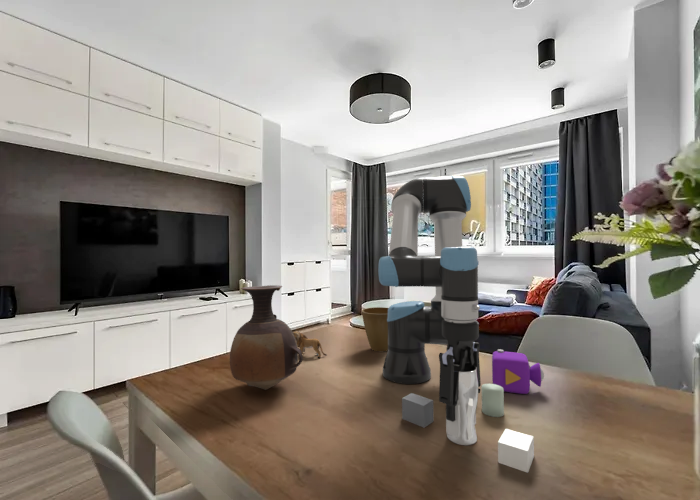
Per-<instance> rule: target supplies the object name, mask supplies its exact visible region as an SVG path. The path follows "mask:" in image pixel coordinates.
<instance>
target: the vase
mask: <svg viewBox="0 0 700 500" xmlns="http://www.w3.org/2000/svg"><path fill="white" fill-rule="evenodd" d="M282 287H283V286H282V285H278V284H275V285H273V284H272V285H271V284H269V285H255V286H253V285H252V286H245V287H244V286H243V287H241V288H240V289H241V290H243V291H244V292H247V293H249V295H250V296H251V299H252V305H253V310H252V314H251V318H250V320H248V321H246V322H245V323H244V324H242V326H241V327H239V328H238V330H237V331H236V333H235V335H234V337H233V340H232V341H231V342H232V343H231V347H230V351H229V366H230V371H231V375H232V377H233V378H234V379H235V380H237V381H239V382H242V383H245V384H247V386H248V387H256V388H259V389H262V390H264V391H267V390H269V389H270V388H272V387H274V386H275V385H276V384H278V383H280V382H282V381H283V380H285V379H287V378H289V377H290V376H292V375H293V374H294V373H295V372H296V371H297V368H298V367H300V365H301V364H302V362H303V359H304V355H302V351H301V350H300V347H297V342H296V339H295V336H294V334H293V331H292V329H291V328H290V326H289V325H288V324H287V323H286V322H284V320H282V319H278V316H277V315H276V314H274V312H273V307H272V302H273V296H274V293H275V292H276V291H280V290H281V289H282Z"/></svg>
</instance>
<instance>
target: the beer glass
mask: <svg viewBox="0 0 700 500" xmlns="http://www.w3.org/2000/svg"><path fill="white" fill-rule="evenodd" d="M454 365H455V364H454ZM455 366H459V365H455ZM456 372H458V371H454V373H456ZM478 388H479V387H478V376H477V367H476V366H474V365H472V371H468V372H461V371H459V394H458V402H457V404H460V437H459V438H457V437H455V436H452V435H450V434H447V433H446V437H447V439H448V440H449V441H451V442H452V443H454V444H455V445H456V444H457V445H460V446H472V445H474V444H476V442H477V440H478V436H477V431H476V426H475V425H476V424H475V413H476V414H477V407H478V400H479V393H478Z"/></svg>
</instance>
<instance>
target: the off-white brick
mask: <svg viewBox="0 0 700 500" xmlns="http://www.w3.org/2000/svg"><path fill="white" fill-rule="evenodd" d="M534 437H535V436H533V435H530V434H526V433H523V432H519V431H515V430H512V429H509V428H505V429H504V431H503V433H502V434H501V436H500V438H499V440H498V441H497V462H498V464H501V465H505V466H507V467H510V468H513V469H516V470H519V471H521V472H525V473H527V474H529V471H530V468H531V466H532V463H533V460H534V457H535V449H534V448H535V442H534V441H535V440H534V439H535V438H534Z"/></svg>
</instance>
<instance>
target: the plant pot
mask: <svg viewBox="0 0 700 500" xmlns="http://www.w3.org/2000/svg"><path fill="white" fill-rule="evenodd" d="M388 308H389V307H382V306H381V307H380V306H377V307H375V306H374V307H367V308H363V309H362V310H361V316H362V321H363V326H364V330H365V334H366V338H367V341H368V343H369V347H370V349H371V351H373V350H374V351H373V352H377V351H385V352H388V351H387V350H388V322H387V317H388Z"/></svg>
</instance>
